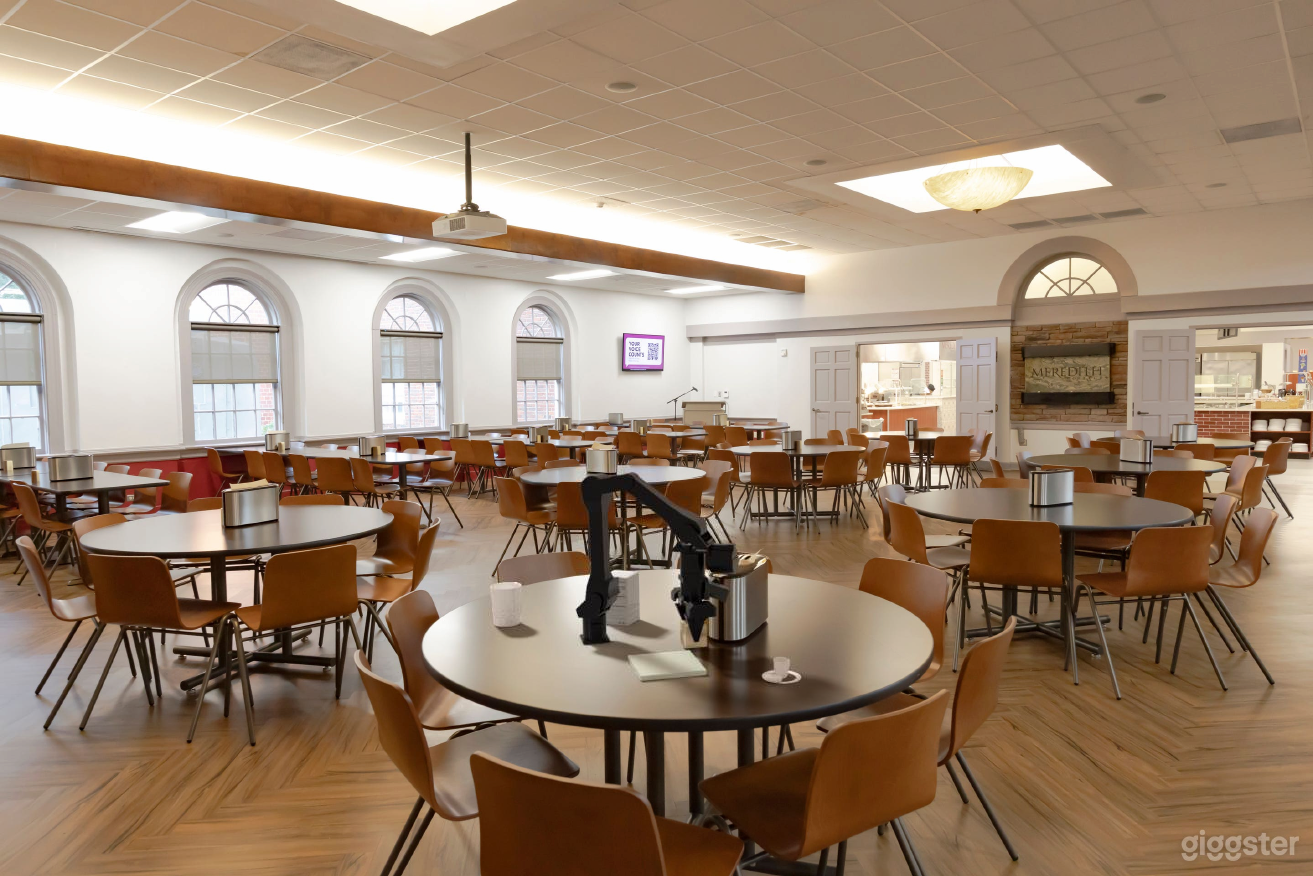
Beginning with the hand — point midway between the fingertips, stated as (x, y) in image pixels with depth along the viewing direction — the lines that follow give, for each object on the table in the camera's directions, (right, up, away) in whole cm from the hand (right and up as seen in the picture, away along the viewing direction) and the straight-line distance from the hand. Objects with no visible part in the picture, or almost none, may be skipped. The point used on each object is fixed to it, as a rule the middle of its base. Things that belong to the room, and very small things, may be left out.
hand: (693, 638), depth 190 cm
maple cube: (0, -1, 0) cm, 1 cm away
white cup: (-47, -2, +24) cm, 53 cm away
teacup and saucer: (+14, -4, -19) cm, 24 cm away
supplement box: (-18, -2, +24) cm, 30 cm away
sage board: (-6, -3, -13) cm, 14 cm away
